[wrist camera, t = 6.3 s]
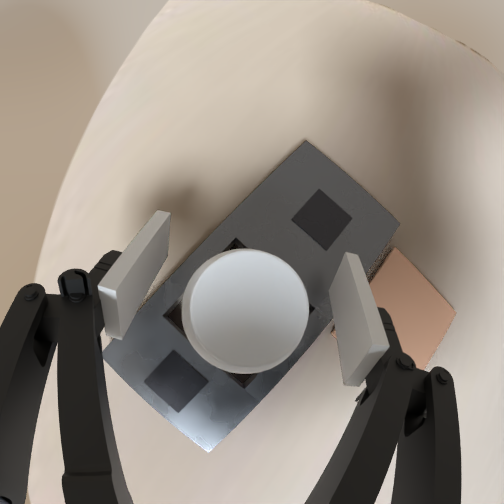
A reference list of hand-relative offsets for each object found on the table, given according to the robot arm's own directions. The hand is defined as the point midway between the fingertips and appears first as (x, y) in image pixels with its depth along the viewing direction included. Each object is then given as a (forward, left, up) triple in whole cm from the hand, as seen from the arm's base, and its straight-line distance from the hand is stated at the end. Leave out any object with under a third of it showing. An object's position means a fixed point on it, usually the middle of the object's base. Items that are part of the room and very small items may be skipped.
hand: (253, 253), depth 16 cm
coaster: (-4, +11, -4) cm, 12 cm away
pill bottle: (+3, +2, -4) cm, 5 cm away
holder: (+1, +2, -4) cm, 4 cm away
